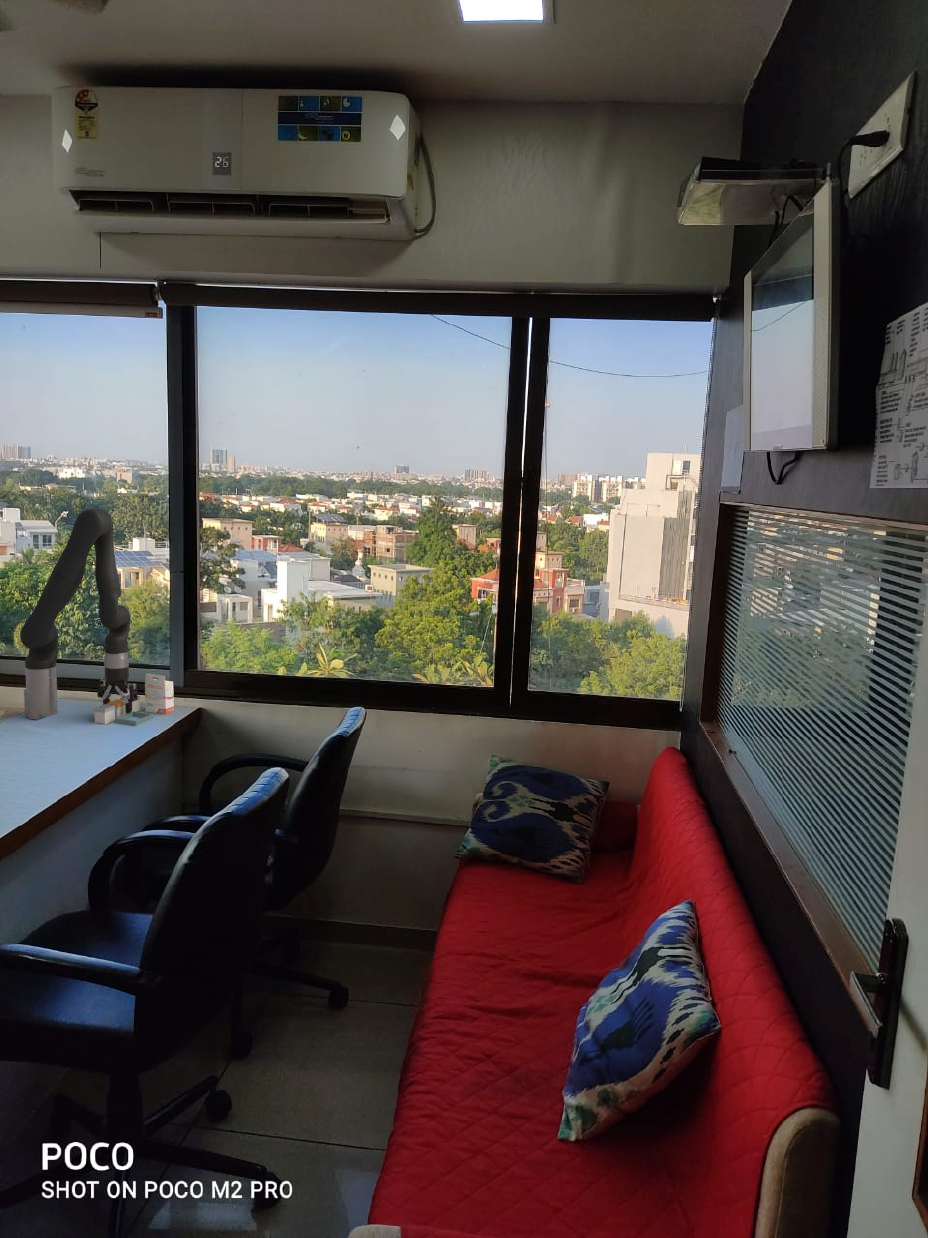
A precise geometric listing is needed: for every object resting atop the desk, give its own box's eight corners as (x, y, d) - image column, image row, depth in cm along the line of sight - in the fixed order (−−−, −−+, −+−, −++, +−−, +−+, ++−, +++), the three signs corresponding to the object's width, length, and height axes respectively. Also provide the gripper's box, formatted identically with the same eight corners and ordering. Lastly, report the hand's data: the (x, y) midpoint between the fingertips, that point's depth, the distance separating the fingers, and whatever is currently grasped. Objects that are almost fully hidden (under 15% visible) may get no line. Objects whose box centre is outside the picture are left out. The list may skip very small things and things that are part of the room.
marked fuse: (107, 717, 282) (107, 702, 281) (117, 713, 287) (117, 699, 286) (118, 718, 281) (117, 704, 280) (127, 714, 286) (127, 700, 285)
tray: (114, 725, 277) (114, 718, 276) (132, 718, 285) (132, 711, 285) (136, 728, 275) (136, 721, 274) (153, 721, 283) (153, 714, 283)
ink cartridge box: (174, 713, 293) (174, 673, 290) (165, 717, 288) (165, 676, 285) (154, 710, 295) (153, 670, 293) (144, 714, 290) (144, 673, 288)
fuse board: (89, 725, 276) (89, 707, 275) (127, 710, 294) (126, 693, 293) (108, 727, 274) (107, 710, 273) (144, 712, 292) (144, 696, 291)
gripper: (90, 665, 279) (92, 711, 282) (127, 669, 275) (128, 717, 278) (106, 660, 286) (107, 706, 289) (141, 664, 282) (142, 711, 285)
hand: (117, 711), depth 283 cm, fingers open, 8 cm apart
